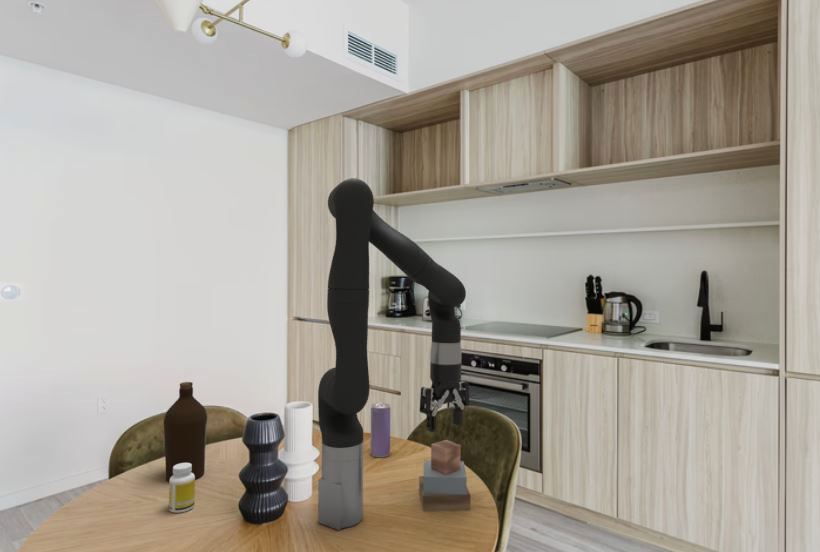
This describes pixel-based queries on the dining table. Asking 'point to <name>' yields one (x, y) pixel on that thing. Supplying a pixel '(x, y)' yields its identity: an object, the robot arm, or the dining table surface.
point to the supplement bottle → (182, 488)
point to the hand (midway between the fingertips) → (444, 427)
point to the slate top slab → (444, 481)
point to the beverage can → (380, 430)
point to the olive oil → (185, 432)
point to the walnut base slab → (442, 500)
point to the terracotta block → (445, 457)
